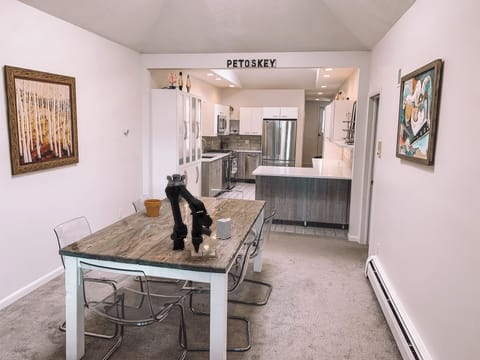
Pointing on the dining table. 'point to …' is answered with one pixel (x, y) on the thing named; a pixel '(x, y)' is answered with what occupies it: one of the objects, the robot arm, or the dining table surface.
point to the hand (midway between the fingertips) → (196, 249)
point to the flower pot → (152, 207)
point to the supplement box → (223, 228)
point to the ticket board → (205, 255)
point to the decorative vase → (176, 182)
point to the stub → (196, 253)
